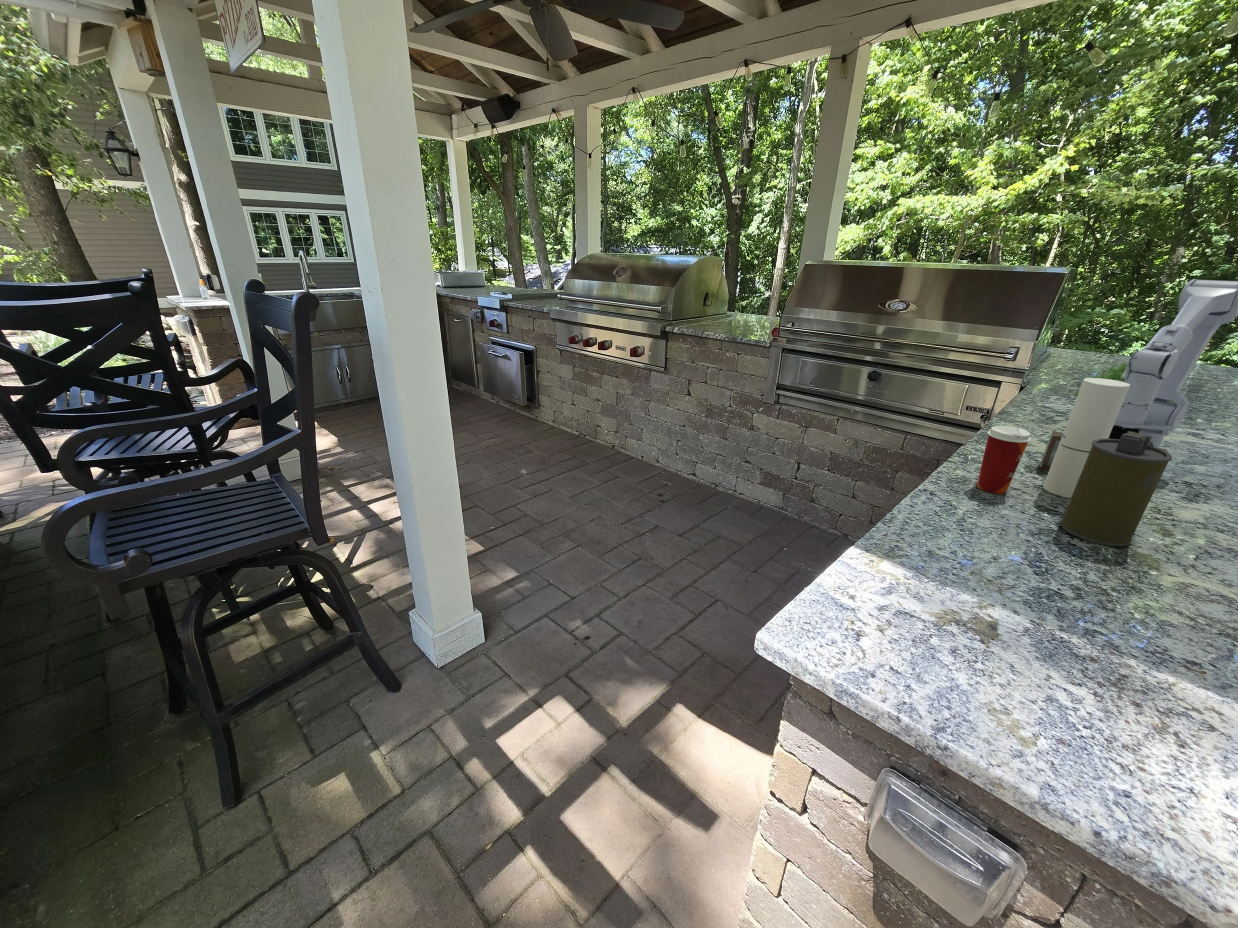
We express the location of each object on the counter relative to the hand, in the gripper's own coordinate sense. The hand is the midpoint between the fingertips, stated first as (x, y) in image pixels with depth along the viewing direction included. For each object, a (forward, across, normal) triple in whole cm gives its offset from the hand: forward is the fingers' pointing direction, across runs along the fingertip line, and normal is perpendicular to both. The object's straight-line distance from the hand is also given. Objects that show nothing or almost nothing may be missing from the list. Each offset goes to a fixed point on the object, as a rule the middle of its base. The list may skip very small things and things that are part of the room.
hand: (1111, 456), depth 120 cm
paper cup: (+4, -22, -28) cm, 36 cm away
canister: (+4, -5, -39) cm, 40 cm away
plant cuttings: (+4, +6, +48) cm, 48 cm away
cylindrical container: (+4, -9, -20) cm, 22 cm away
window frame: (+4, -3, -6) cm, 8 cm away
